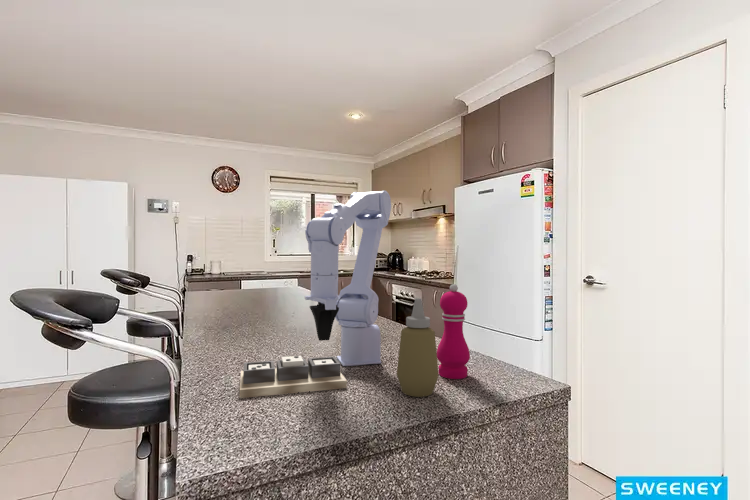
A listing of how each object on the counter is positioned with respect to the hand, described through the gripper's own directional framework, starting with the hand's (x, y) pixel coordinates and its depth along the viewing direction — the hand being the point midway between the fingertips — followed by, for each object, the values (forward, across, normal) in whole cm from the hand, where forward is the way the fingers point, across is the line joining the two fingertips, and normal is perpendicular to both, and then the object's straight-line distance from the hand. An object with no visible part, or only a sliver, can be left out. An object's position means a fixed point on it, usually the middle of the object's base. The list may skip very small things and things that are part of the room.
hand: (323, 339), depth 83 cm
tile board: (+8, 0, -6) cm, 11 cm away
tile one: (+7, 0, 0) cm, 7 cm away
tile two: (+6, 0, -6) cm, 9 cm away
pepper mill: (+9, +4, +28) cm, 30 cm away
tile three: (+7, 0, -13) cm, 15 cm away
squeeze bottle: (+9, +12, +16) cm, 22 cm away
